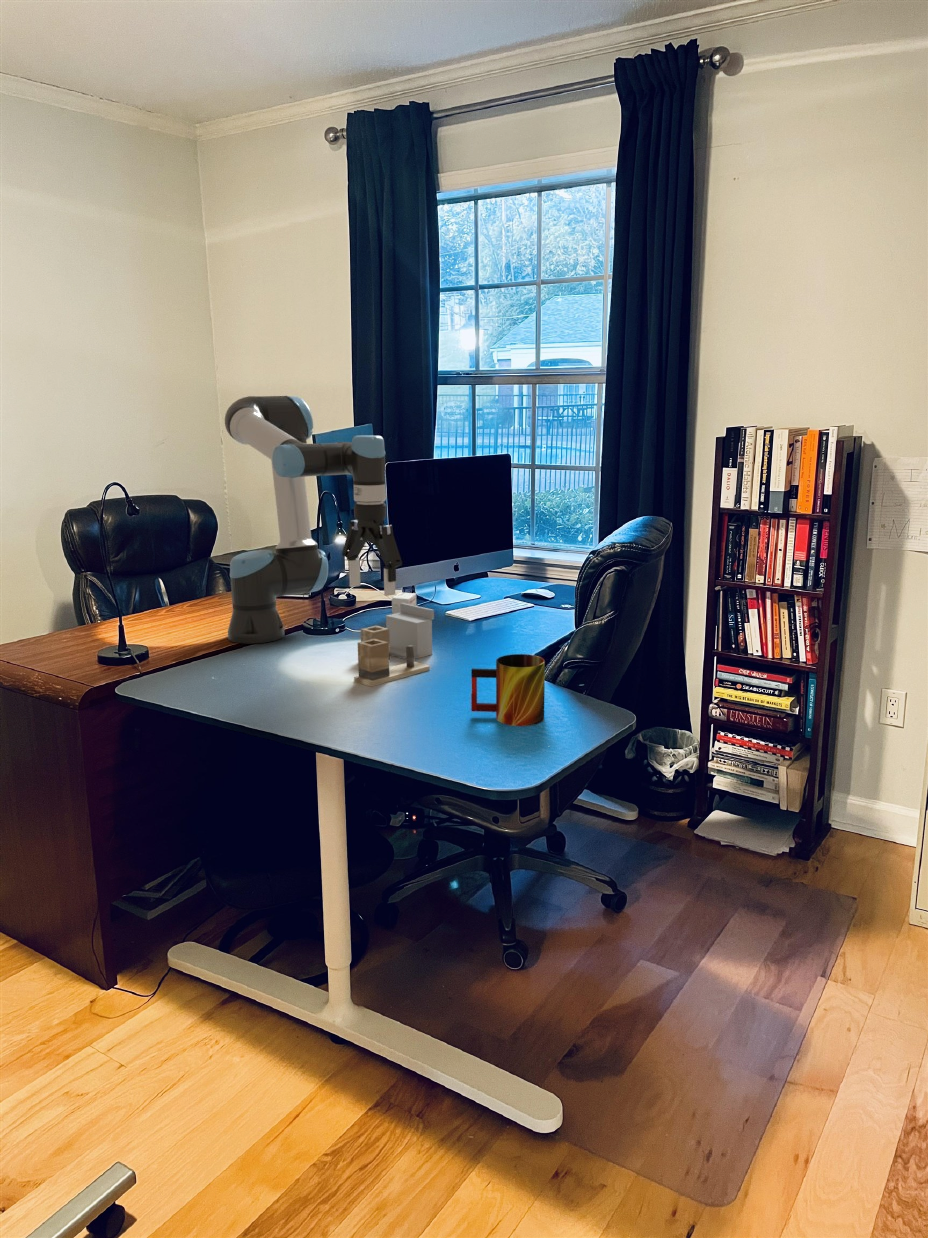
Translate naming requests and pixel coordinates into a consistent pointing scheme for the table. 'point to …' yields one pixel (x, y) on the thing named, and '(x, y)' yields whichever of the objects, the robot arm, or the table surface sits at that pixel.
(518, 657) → the mug
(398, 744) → the table surface
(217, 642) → the table surface
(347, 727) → the table surface
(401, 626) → the chute
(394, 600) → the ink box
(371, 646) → the sleeve
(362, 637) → the sleeve
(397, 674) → the pin board
